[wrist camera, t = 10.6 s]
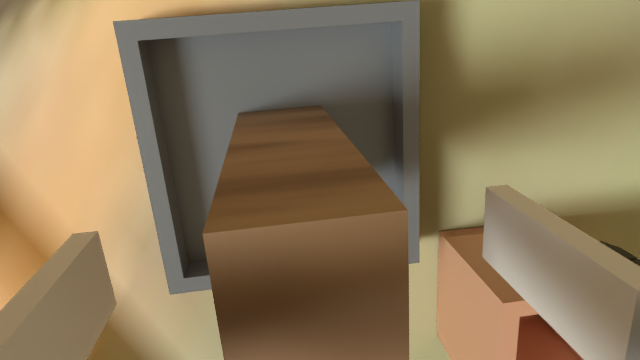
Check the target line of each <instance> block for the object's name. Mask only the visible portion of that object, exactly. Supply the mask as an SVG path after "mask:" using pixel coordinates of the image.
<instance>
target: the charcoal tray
mask: <svg viewBox="0 0 640 360" xmlns="http://www.w3.org/2000/svg"><path fill="white" fill-rule="evenodd" d="M113 24H114V29H115V34H116V38H117V43H118V48H119V53H120V58H121V62H122V67H123V72H124V77H125V82H126V86H127V91H128V96H129V101H130V106H131V110H132V115H133V120H134V125H135V130H136V134H137V139H138V144H139V149H140V154H141V158H142V163H143V168H144V173H145V178H146V182H147V187H148V192H149V197H150V201H151V206H152V211H153V216H154V221H155V225H156V230H157V235H158V240H159V245H160V249H161V254H162V259H163V264H164V269H165V273H166V278H167V283H168V288H169V293H170V294H178V293H186V292H194V291H201V290H209V289H212V286H211V281H210V275H209V269H208V263H207V257H206V251H205V246H204V240H203V231H204V227H205V224H206V220H207V217H208V214H209V210H210V207H211V204H212V200H213V197H214V193H215V190H216V187H217V183H218V180H219V177H220V173H221V170H222V166H223V163H224V160H225V156H226V153H227V150H228V146H229V143H230V139H231V136H232V133H233V129H234V126H235V122H236V119H237V116H238V113H244V112H255V111H266V110H277V109H288V108H299V107H310V106H322V107H323V109H324V110H325V111H326V112H327V113H328V115H329V116H330V117H331V118H332V119H333V121H334V122H335V123H336V124H337V125H338V127H339V128H340V129H341V130H342V131H343V133H344V134H345V135H346V136H347V137H348V139H349V140H350V141H351V142H352V143H353V145H354V146H355V147H356V148H357V149H358V151H359V152H360V153H361V154H362V155H363V157H364V158H365V159H366V160H367V161H368V163H369V164H370V165H371V166H372V167H373V169H374V170H375V171H376V172H377V173H378V175H379V176H380V177H381V178H382V179H383V181H384V182H385V183H386V184H387V185H388V187H389V188H390V189H391V190H392V191H393V193H394V194H395V195H396V196H397V197H398V199H399V200H400V201H401V202H402V203H403V204H404V206H405V207H406V208H407V209H408V264H412V263H419V190H420V0H415V1H400V2H386V3H371V4H357V5H343V6H328V7H314V8H299V9H285V10H270V11H256V12H242V13H227V14H213V15H198V16H184V17H170V18H155V19H141V20H126V21H113Z"/></svg>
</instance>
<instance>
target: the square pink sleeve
mask: <svg viewBox="0 0 640 360" xmlns="http://www.w3.org/2000/svg"><path fill="white" fill-rule="evenodd" d="M483 233H484V226H482V227H474V228H466V229H458V230H450V231H441V232H439V253H438V309H437V336H438V338H439V340H440V341H441V343H442V345H443V347H444V348H445V350H446V352H447V353H448V355H449V357H450V359H451V360H584V359H583V358H582V357H581V356H580V355H579V354H578V353H577V352H576V351H575V350H574V349H573V348H572V347H571V346H570V345H569V344H568V343H567V342H566V341H565V340H564V339H563V338H562V337H561V336H560V335H559V334H558V333H557V332H556V331H555V330H554V329H553V328H552V327H551V326H550V325H549V324H548V323H547V322H546V321H545V320H544V319H543V318H542V317H541V316H540V315H539V314H538V313H537V312H536V311H535V310H534V309H533V308H532V307H531V306H530V305H529V304H528V303H527V302H526V301H525V300H524V299H523V298H522V297H521V296H520V295H519V294H518V293H517V292H516V291H515V290H514V289H513V287H512V286H511V285H510V284H509V283H508V282H507V281H506V280H505V279H504V278H503V277H502V276H501V275H500V274H499V273H498V272H497V271H496V270H495V269H494V268H493V267H492V266H491V265H490V264H489V263H488V262H487V261H486V260H485V259H484V258H483V257H482V251H483Z"/></svg>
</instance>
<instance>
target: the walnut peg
mask: <svg viewBox="0 0 640 360" xmlns="http://www.w3.org/2000/svg"><path fill="white" fill-rule="evenodd" d="M203 240H204V246H205V251H206V257H207V263H208V269H209V275H210V281H211V286H212V292H213V298H214V304H215V310H216V315H217V321H218V327H219V333H220V339H221V344H222V350H223V356H224V360H409V265H408V209H407V208H406V207H405V206H404V204H403V203H402V202H401V201H400V200H399V199H398V197H397V196H396V195H395V194H394V193H393V191H392V190H391V189H390V188H389V187H388V185H387V184H386V183H385V182H384V181H383V179H382V178H381V177H380V176H379V175H378V173H377V172H376V171H375V170H374V169H373V167H372V166H371V165H370V164H369V163H368V161H367V160H366V159H365V158H364V157H363V155H362V154H361V153H360V152H359V151H358V149H357V148H356V147H355V146H354V145H353V143H352V142H351V141H350V140H349V139H348V137H347V136H346V135H345V134H344V133H343V131H342V130H341V129H340V128H339V127H338V125H337V124H336V123H335V122H334V121H333V119H332V118H331V117H330V116H329V115H328V113H327V112H326V111H325V110H324V109H323V107H322V106H310V107H299V108H288V109H277V110H266V111H255V112H244V113H238V116H237V119H236V122H235V126H234V129H233V133H232V136H231V139H230V143H229V146H228V150H227V153H226V156H225V160H224V163H223V166H222V170H221V173H220V177H219V180H218V183H217V187H216V190H215V193H214V197H213V200H212V204H211V207H210V210H209V214H208V217H207V220H206V224H205V227H204V231H203Z"/></svg>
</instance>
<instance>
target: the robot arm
mask: <svg viewBox="0 0 640 360" xmlns="http://www.w3.org/2000/svg"><path fill="white" fill-rule="evenodd" d="M482 257H483V258H484V259H485V260H486V261H487V262H488V263H489V264H490V265H491V266H492V267H493V268H494V269H495V270H496V271H497V272H498V273H499V274H500V275H501V276H502V277H503V278H504V279H505V280H506V281H507V282H508V283H509V284H510V285H511V286H512V287H513V289H514V290H515V291H516V292H517V293H518V294H519V295H520V296H521V297H522V298H523V299H524V300H525V301H526V302H527V303H528V304H529V305H530V306H531V307H532V308H533V309H534V310H535V311H536V312H537V313H538V314H539V315H540V316H541V317H542V318H543V319H544V320H545V321H546V322H547V323H548V324H549V325H550V326H551V327H552V328H553V329H554V330H555V331H556V332H557V333H558V334H559V335H560V336H561V337H562V338H563V339H564V340H565V341H566V342H567V343H568V344H569V345H570V346H571V347H572V348H573V349H574V350H575V351H576V352H577V353H578V354H579V355H580V356H581V357H582V358H583V359H584V360H640V260H637V258H636V257H635V256H633V255H631V254H630V253H628V252H626V251H625V250H623V249H621V248H619V247H616V246H613V245H610V244H608V243H605V242H602V241H597V240H596V239H594V238H593V237H591V236H589V235H588V234H586V233H584V232H583V231H581V230H579V229H578V228H576V227H575V226H573V225H571V224H570V223H568V222H566V221H565V220H563V219H562V218H560V217H558V216H557V215H555V214H553V213H552V212H550V211H549V210H547V209H545V208H544V207H542V206H540V205H539V204H537V203H535V202H534V201H532V200H531V199H529V198H527V197H526V196H524V195H522V194H521V193H519V192H518V191H516V190H514V189H513V188H511V187H509V186H508V185H501V186H492V187H486V195H485V214H484V233H483V251H482ZM115 306H116V300H115V296H114V292H113V288H112V284H111V280H110V277H109V273H108V269H107V265H106V261H105V257H104V253H103V249H102V245H101V241H100V237H99V234H98V231H94V232H85V233H77V234H73V235H72V236H71V237H70V238H69V239H68V240H67V241H66V242H65V243H64V244H63V245H62V246H61V247H60V248H59V249H58V250H57V251H56V253H55V254H54V255H53V256H52V257H51V258H50V259H49V260H48V261H47V262H46V263H45V264H44V265H43V266H42V267H41V268H40V269H39V270H38V272H37V273H36V274H35V275H34V276H33V277H32V278H31V279H30V280H29V281H28V282H27V283H26V284H25V285H24V286H23V287H22V288H21V290H20V291H19V292H18V293H17V294H16V295H15V296H14V297H13V298H12V299H11V300H10V301H9V302H8V303H7V304H6V305H5V306H4V308H3V309H2V310H1V311H0V360H87V358H88V356H89V354H90V353H91V351H92V349H93V347H94V345H95V343H96V341H97V340H98V338H99V336H100V334H101V332H102V330H103V328H104V327H105V325H106V323H107V321H108V319H109V317H110V315H111V313H112V312H113V310H114V308H115Z"/></svg>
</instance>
